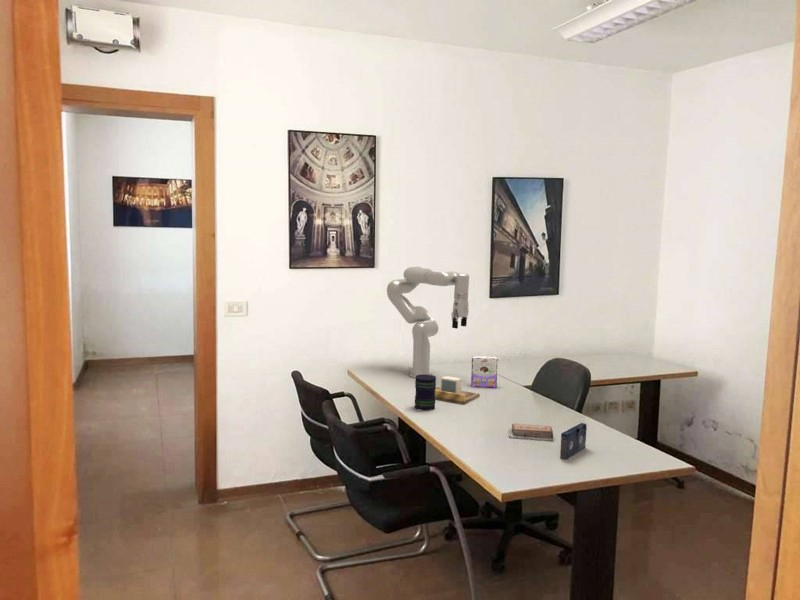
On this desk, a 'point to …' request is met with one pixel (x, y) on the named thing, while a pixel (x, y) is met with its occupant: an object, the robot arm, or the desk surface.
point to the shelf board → (455, 396)
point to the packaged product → (531, 432)
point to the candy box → (484, 371)
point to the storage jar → (425, 392)
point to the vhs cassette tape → (573, 441)
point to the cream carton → (451, 384)
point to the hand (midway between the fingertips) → (459, 327)
